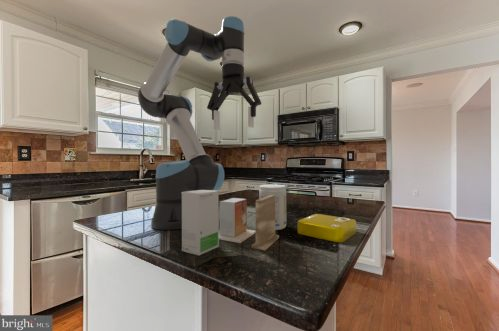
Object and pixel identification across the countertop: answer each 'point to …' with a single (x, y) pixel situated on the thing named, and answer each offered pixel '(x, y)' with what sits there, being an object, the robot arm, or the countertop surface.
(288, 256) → the countertop surface
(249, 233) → the cream pad
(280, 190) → the supplement tub
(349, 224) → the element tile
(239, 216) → the small box
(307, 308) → the countertop surface
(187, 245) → the skincare box
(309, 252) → the countertop surface
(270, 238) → the oak screen
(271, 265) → the countertop surface
